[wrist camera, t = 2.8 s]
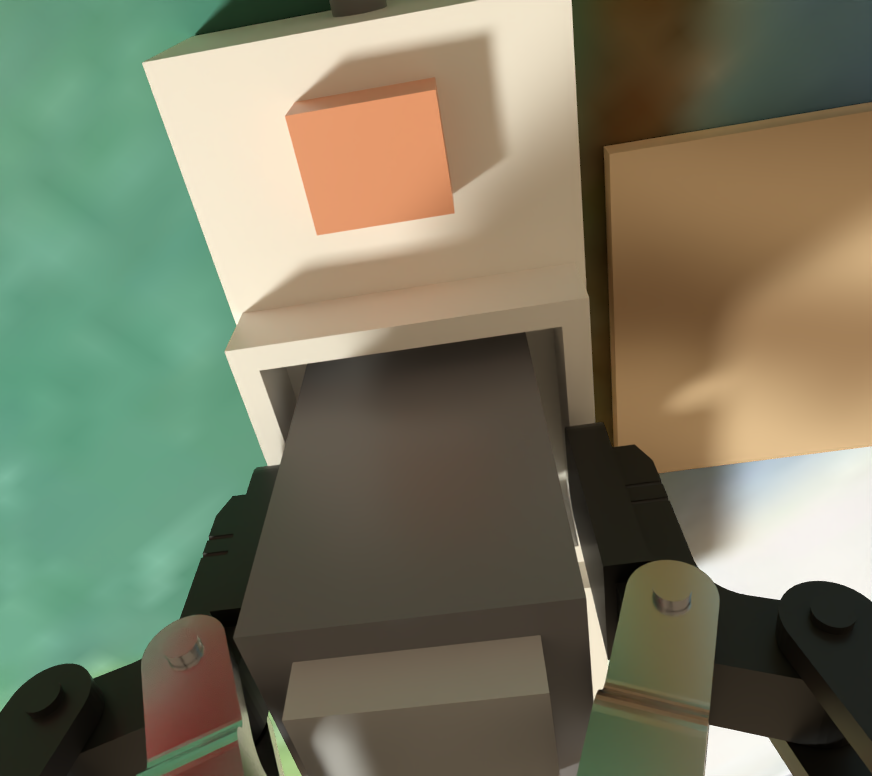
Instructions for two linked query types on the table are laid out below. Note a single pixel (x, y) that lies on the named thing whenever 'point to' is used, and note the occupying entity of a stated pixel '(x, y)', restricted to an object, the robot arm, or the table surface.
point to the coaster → (742, 289)
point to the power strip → (391, 195)
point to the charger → (421, 573)
